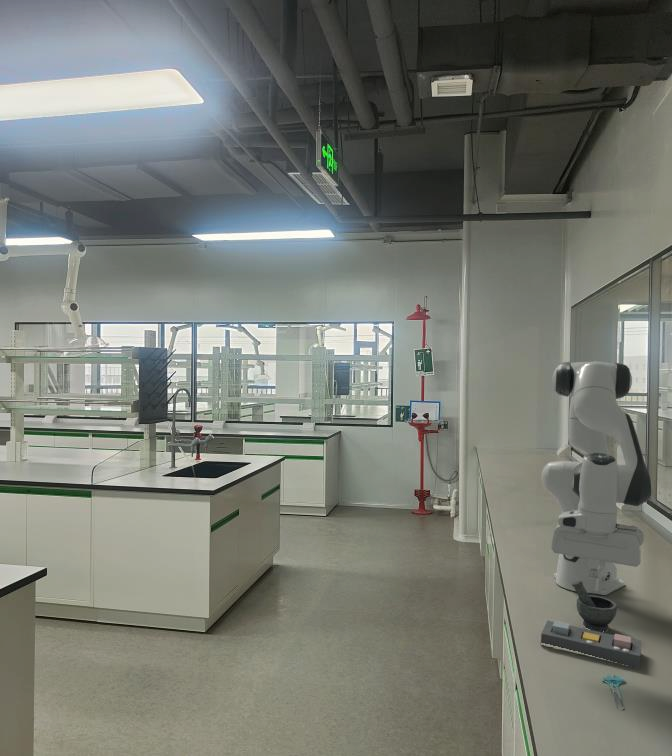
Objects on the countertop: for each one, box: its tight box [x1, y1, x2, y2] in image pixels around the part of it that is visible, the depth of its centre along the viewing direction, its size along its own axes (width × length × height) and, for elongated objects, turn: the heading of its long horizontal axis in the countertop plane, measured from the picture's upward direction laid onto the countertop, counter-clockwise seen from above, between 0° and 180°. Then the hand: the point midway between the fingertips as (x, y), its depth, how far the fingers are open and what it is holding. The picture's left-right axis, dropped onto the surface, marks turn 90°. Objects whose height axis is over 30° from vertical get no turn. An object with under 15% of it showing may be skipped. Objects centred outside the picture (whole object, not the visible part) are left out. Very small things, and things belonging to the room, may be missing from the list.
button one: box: [582, 632, 600, 643], centre depth 154 cm, size 4×4×2 cm
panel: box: [540, 620, 642, 669], centre depth 154 cm, size 22×9×3 cm, turn 62°
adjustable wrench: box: [602, 674, 627, 699], centre depth 134 cm, size 14×1×5 cm
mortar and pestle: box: [572, 580, 618, 633], centre depth 167 cm, size 11×9×12 cm
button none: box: [552, 620, 571, 636], centre depth 158 cm, size 4×4×2 cm
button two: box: [614, 633, 632, 650], centre depth 151 cm, size 4×4×2 cm
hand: (593, 576), depth 154 cm, fingers closed
